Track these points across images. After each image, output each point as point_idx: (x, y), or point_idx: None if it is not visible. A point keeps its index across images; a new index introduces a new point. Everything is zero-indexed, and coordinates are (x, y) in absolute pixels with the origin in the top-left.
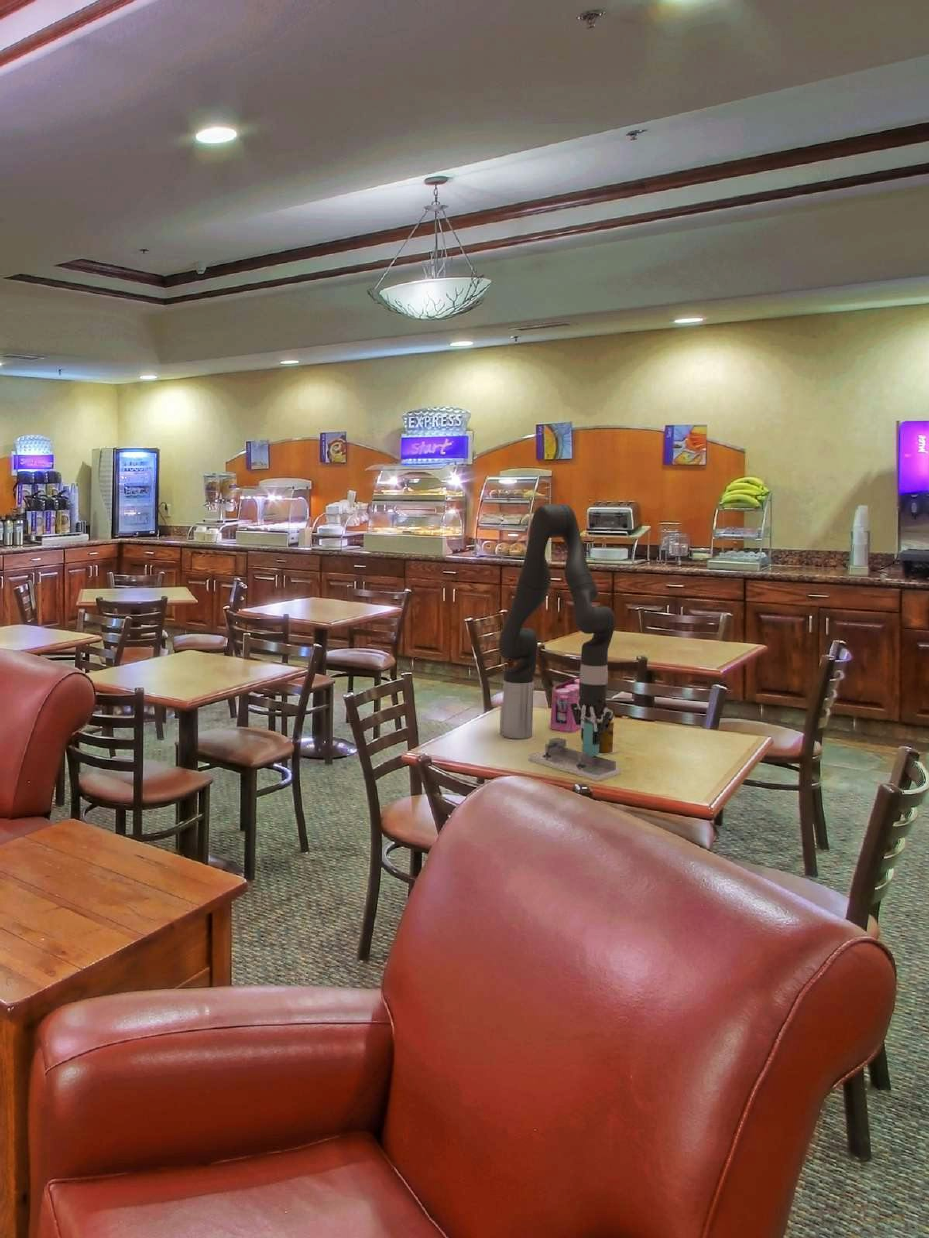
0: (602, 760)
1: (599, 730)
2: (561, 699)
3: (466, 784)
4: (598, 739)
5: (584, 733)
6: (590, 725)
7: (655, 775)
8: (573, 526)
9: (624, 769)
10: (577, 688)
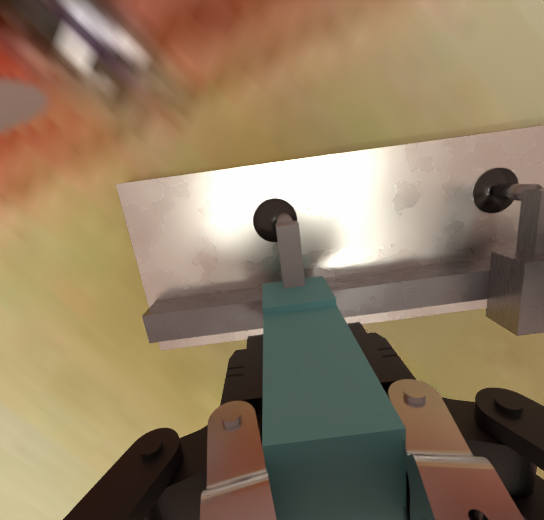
0: (204, 307)
1: (200, 434)
2: None
3: None
4: (228, 374)
5: (347, 349)
6: (293, 429)
7: (90, 419)
8: None
9: (201, 381)
10: None
